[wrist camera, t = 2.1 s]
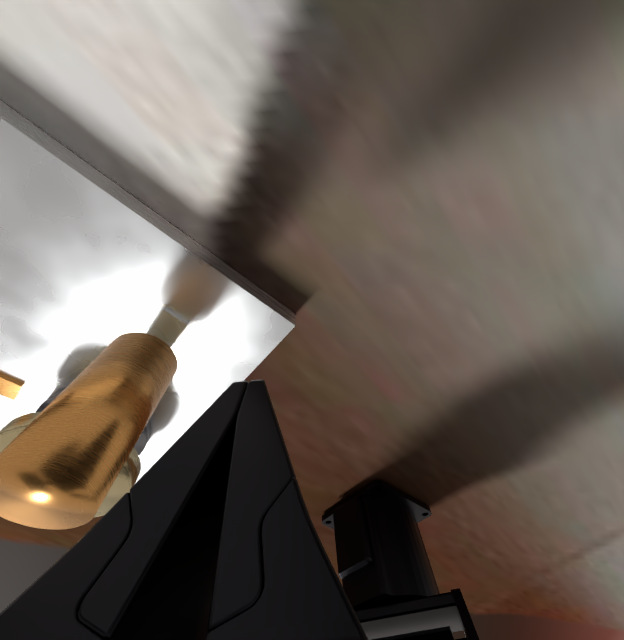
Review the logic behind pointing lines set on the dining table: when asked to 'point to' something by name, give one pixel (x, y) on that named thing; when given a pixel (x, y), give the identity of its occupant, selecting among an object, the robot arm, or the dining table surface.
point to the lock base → (112, 289)
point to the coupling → (84, 437)
